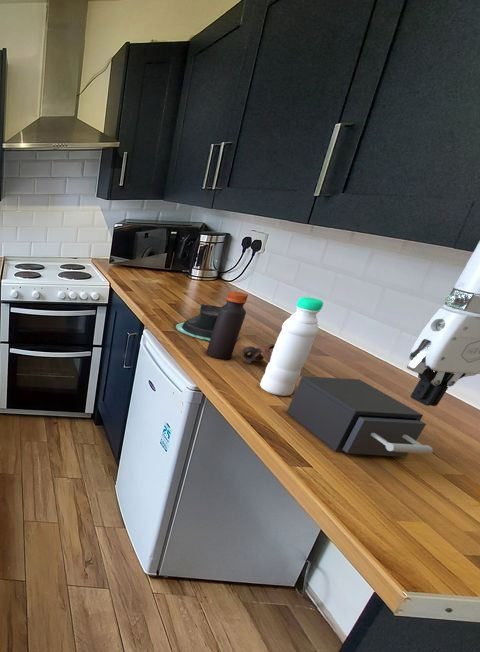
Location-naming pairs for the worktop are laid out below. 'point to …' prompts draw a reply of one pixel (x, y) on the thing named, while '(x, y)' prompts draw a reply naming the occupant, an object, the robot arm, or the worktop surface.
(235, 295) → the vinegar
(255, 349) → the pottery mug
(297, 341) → the water bottle
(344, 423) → the grey drawer unit
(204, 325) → the dark green hat
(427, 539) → the worktop surface
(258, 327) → the worktop surface
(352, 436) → the mini chest drawer
